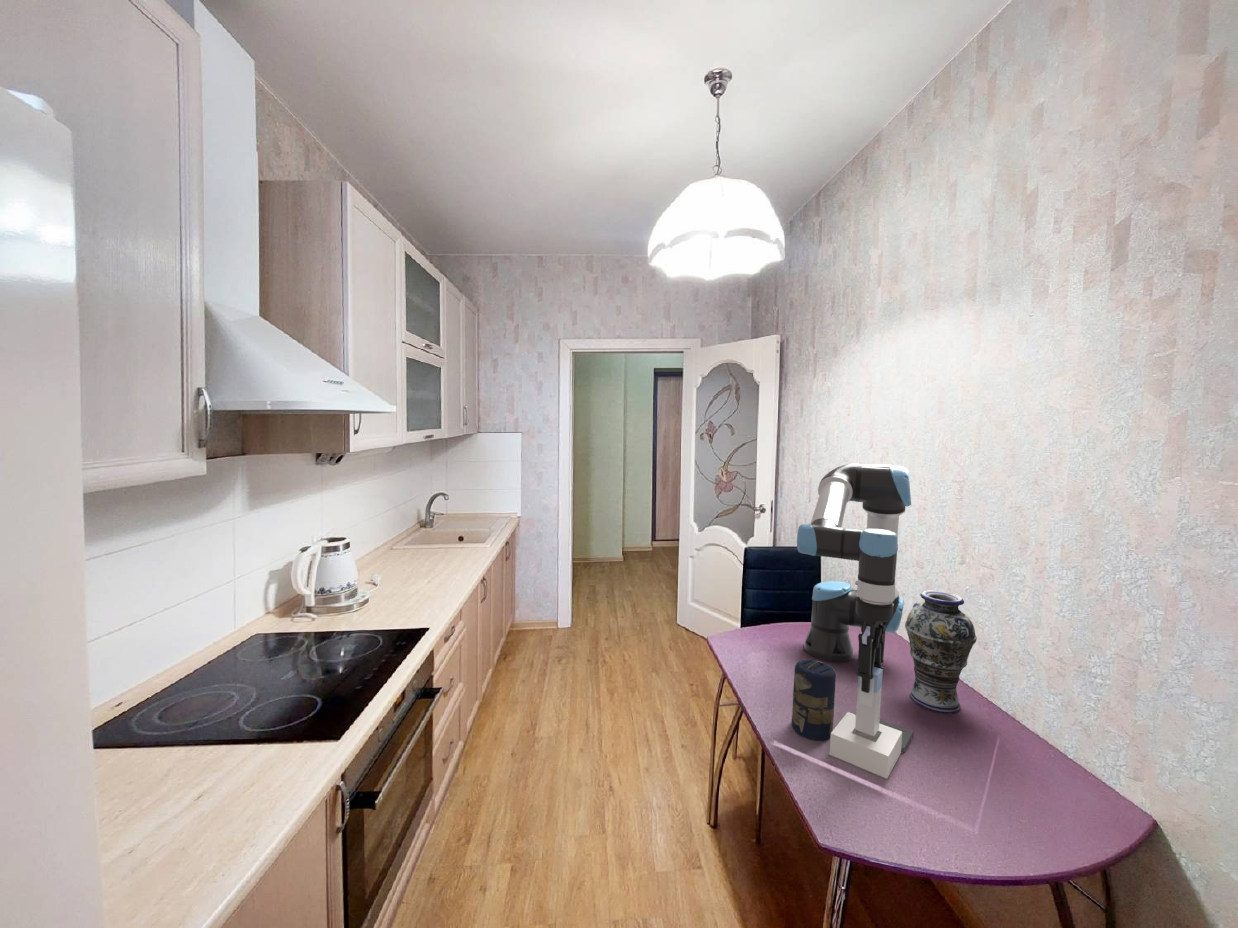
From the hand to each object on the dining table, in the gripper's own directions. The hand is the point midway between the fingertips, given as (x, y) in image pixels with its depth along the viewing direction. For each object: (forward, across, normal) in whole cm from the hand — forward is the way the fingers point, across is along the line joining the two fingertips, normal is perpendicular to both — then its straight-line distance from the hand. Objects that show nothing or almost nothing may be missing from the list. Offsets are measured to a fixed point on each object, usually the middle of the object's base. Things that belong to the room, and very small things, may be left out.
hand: (868, 699), depth 119 cm
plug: (+7, 0, 0) cm, 7 cm away
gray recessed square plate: (+14, -11, +2) cm, 18 cm away
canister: (+14, -1, -13) cm, 19 cm away
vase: (+14, -39, +7) cm, 42 cm away
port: (+14, 0, 0) cm, 14 cm away
